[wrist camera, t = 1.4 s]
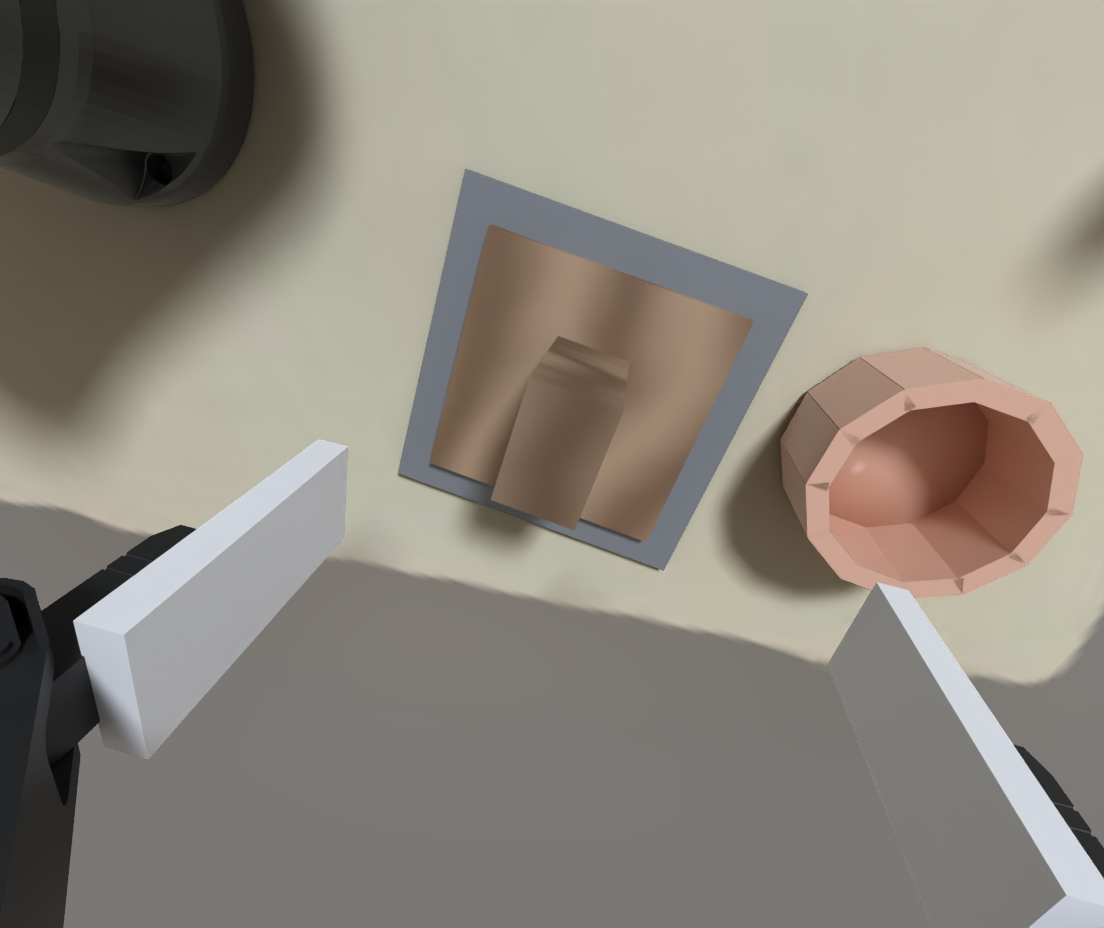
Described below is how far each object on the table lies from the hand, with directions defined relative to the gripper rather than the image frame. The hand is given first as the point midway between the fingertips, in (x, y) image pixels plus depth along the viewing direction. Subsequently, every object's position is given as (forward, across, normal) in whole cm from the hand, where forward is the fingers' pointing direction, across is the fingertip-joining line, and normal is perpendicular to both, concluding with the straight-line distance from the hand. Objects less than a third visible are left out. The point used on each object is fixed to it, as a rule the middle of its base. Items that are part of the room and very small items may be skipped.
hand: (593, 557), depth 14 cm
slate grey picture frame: (+19, -2, -2) cm, 19 cm away
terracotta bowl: (+19, +15, -1) cm, 24 cm away
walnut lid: (+18, -2, -2) cm, 19 cm away
